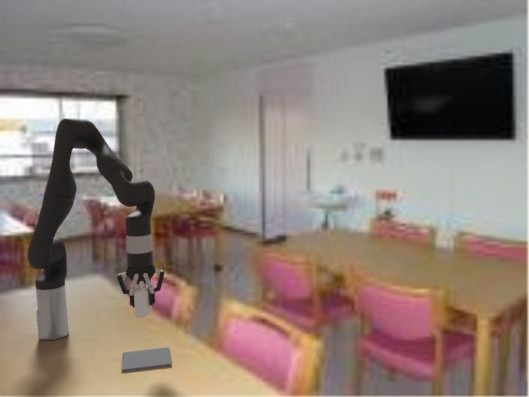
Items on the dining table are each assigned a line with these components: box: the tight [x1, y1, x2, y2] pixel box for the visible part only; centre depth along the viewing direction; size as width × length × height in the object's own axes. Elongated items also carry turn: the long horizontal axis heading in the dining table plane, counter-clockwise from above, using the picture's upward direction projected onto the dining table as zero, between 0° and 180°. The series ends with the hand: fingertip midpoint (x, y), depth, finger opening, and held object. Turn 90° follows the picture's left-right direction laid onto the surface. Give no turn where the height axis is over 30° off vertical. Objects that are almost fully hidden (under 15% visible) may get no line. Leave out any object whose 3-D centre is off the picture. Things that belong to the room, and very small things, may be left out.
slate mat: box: [121, 347, 172, 373], centre depth 160 cm, size 14×12×1 cm
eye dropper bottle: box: [134, 281, 153, 319], centre depth 157 cm, size 4×6×12 cm
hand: (142, 305), depth 158 cm, fingers closed on eye dropper bottle, 4 cm apart
